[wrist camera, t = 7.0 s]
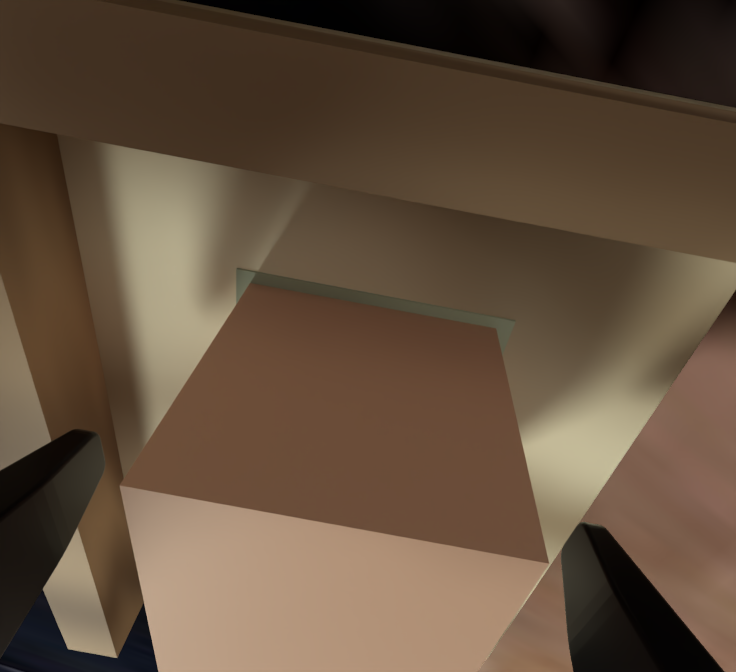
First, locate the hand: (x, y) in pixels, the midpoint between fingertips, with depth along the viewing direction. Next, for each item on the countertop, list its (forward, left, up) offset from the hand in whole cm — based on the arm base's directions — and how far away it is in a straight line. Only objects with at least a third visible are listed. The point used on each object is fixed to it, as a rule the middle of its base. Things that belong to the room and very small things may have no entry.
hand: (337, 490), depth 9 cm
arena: (-2, +1, -4) cm, 4 cm away
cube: (0, 0, -2) cm, 3 cm away
